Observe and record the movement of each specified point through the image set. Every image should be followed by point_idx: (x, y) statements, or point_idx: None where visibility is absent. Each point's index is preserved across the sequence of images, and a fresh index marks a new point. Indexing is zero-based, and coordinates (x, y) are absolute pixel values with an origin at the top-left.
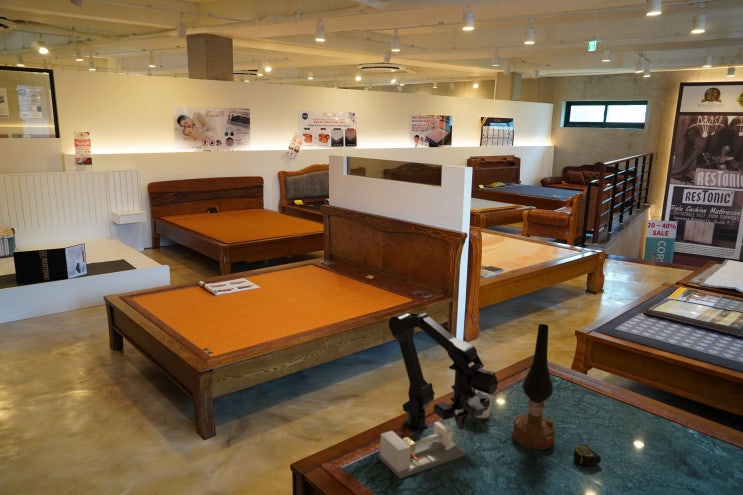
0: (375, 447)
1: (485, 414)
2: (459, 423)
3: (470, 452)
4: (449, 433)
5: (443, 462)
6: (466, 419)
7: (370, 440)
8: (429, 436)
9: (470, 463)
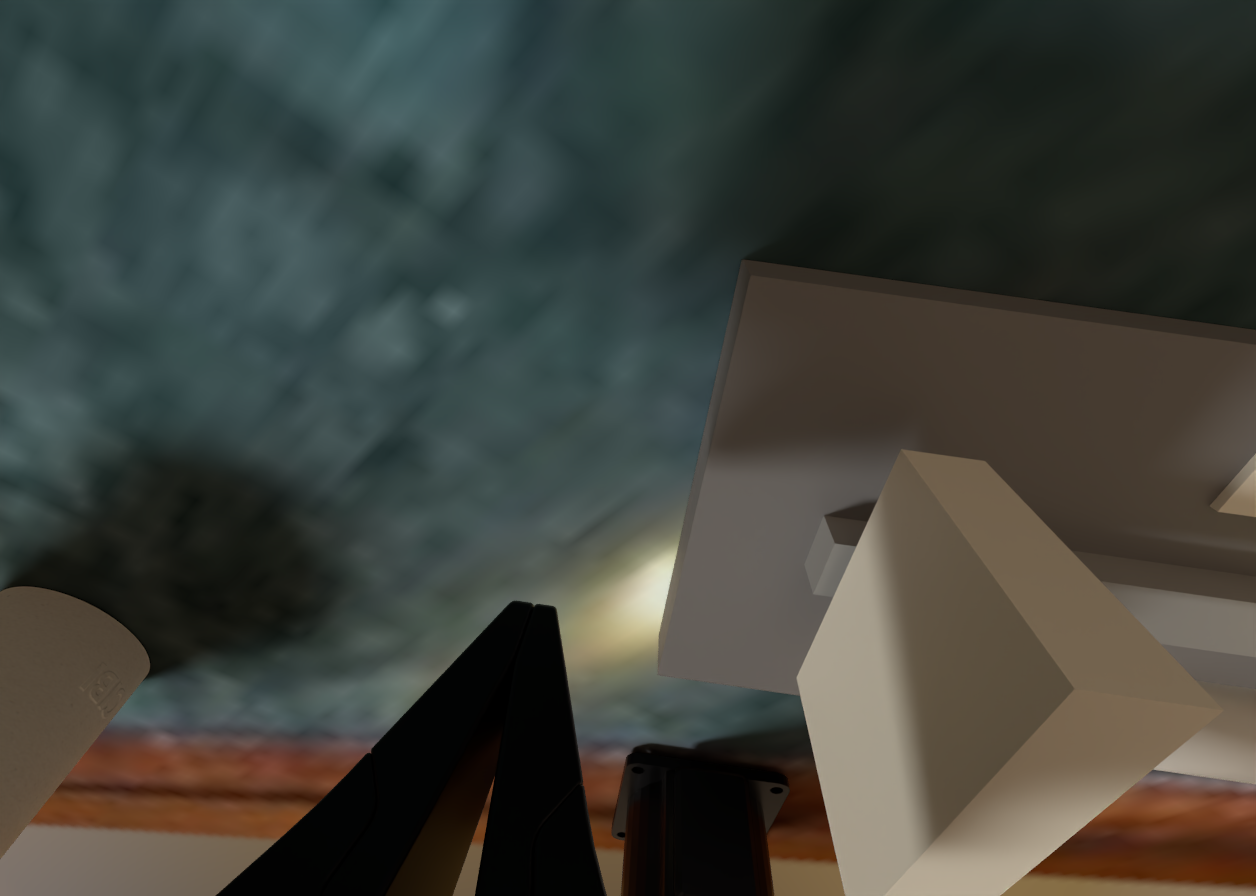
0: (1212, 805)
1: (6, 621)
2: (576, 758)
3: (603, 261)
4: (1148, 680)
5: (1134, 315)
6: (362, 800)
7: (1127, 851)
8: (1245, 773)
9: (850, 21)
